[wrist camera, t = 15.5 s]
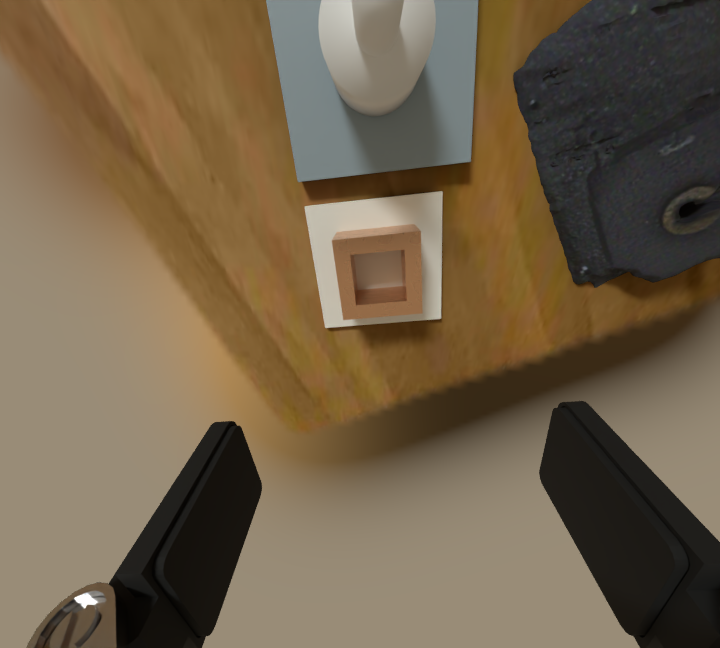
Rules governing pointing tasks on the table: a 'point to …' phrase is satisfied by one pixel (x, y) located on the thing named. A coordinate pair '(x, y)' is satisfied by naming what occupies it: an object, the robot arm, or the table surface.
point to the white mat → (378, 265)
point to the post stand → (376, 83)
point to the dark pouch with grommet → (629, 135)
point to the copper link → (379, 299)
